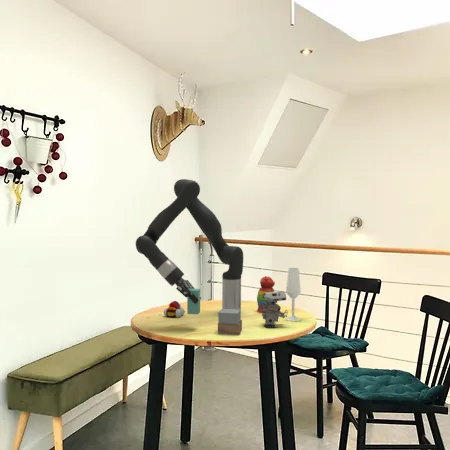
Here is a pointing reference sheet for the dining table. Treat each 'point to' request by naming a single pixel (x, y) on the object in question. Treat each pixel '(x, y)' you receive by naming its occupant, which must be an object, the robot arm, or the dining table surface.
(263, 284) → the stacking bear
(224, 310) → the gray top block
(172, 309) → the rainbow petal toy
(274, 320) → the figurine
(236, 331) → the walnut base block
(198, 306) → the green block
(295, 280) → the champagne flute
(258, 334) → the dining table surface
